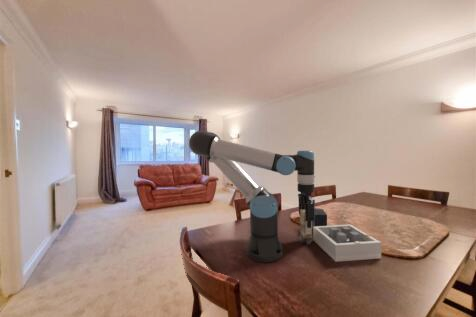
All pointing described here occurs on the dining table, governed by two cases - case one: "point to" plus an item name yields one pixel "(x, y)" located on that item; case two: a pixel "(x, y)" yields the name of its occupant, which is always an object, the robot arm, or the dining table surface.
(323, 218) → the small box
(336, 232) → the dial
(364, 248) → the white open square box
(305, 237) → the long wooden block
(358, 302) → the dining table surface
